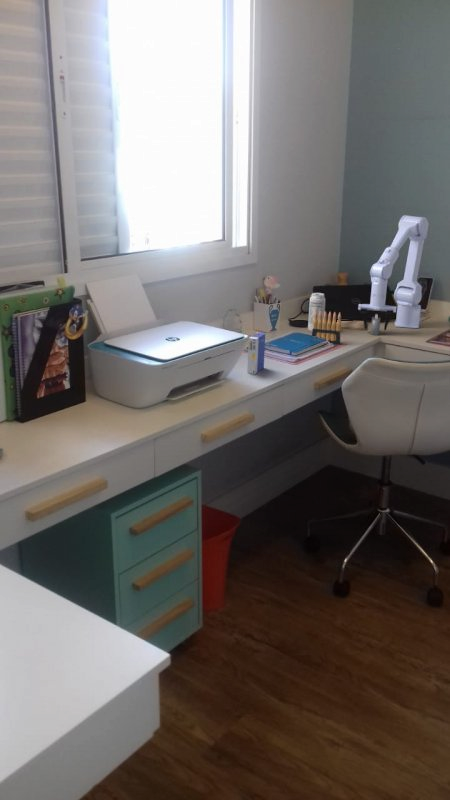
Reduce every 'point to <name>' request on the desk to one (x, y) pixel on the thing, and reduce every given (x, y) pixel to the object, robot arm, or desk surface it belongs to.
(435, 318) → the desk surface
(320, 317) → the ammunition clip
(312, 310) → the energy drink can
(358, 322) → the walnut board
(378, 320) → the connector
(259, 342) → the purple white carton box
